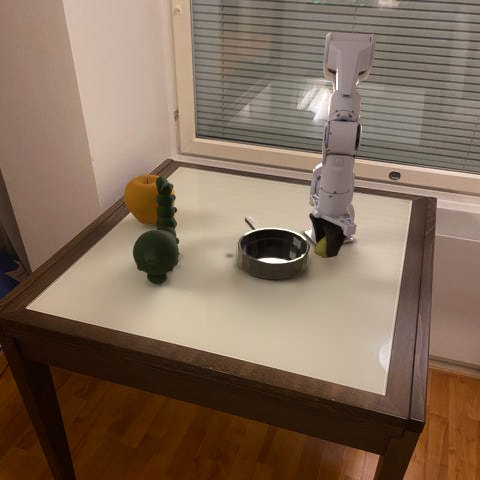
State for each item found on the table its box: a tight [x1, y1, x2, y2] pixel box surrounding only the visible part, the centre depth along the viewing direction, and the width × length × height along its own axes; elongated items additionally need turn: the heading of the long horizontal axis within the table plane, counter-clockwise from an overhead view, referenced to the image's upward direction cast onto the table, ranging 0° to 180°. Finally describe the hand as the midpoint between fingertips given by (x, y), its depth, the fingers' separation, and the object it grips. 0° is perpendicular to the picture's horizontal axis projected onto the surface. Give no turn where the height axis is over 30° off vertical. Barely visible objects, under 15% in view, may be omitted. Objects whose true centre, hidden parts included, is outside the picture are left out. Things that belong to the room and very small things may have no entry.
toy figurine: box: [132, 175, 181, 284], centre depth 107 cm, size 9×19×25 cm
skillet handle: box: [244, 215, 264, 235], centre depth 120 cm, size 2×8×1 cm, turn 21°
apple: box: [123, 174, 176, 226], centre depth 127 cm, size 13×13×11 cm
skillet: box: [236, 227, 311, 280], centre depth 113 cm, size 16×16×4 cm
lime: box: [313, 236, 329, 259], centre depth 101 cm, size 4×5×5 cm
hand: (326, 251), depth 102 cm, fingers closed on lime, 3 cm apart
